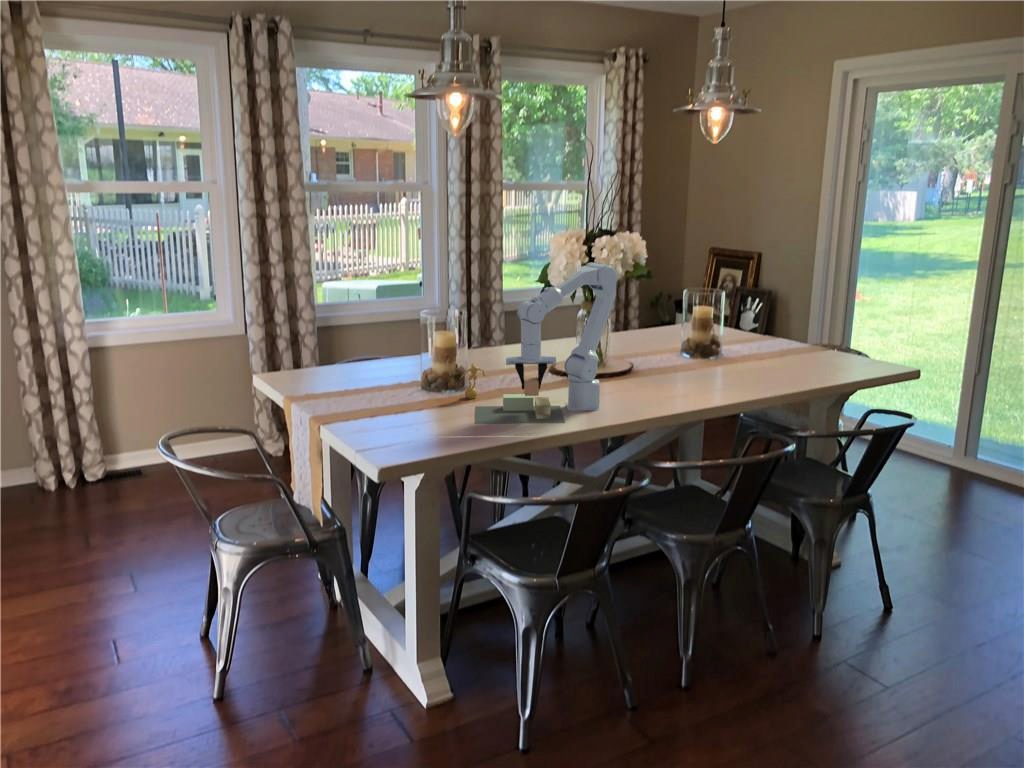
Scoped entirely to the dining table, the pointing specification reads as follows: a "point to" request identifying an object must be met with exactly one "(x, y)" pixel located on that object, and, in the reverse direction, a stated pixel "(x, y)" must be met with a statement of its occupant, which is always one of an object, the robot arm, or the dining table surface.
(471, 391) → the figurine
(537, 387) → the tan rectangular block
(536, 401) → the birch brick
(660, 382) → the dining table surface
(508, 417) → the mat
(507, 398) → the sage brick
